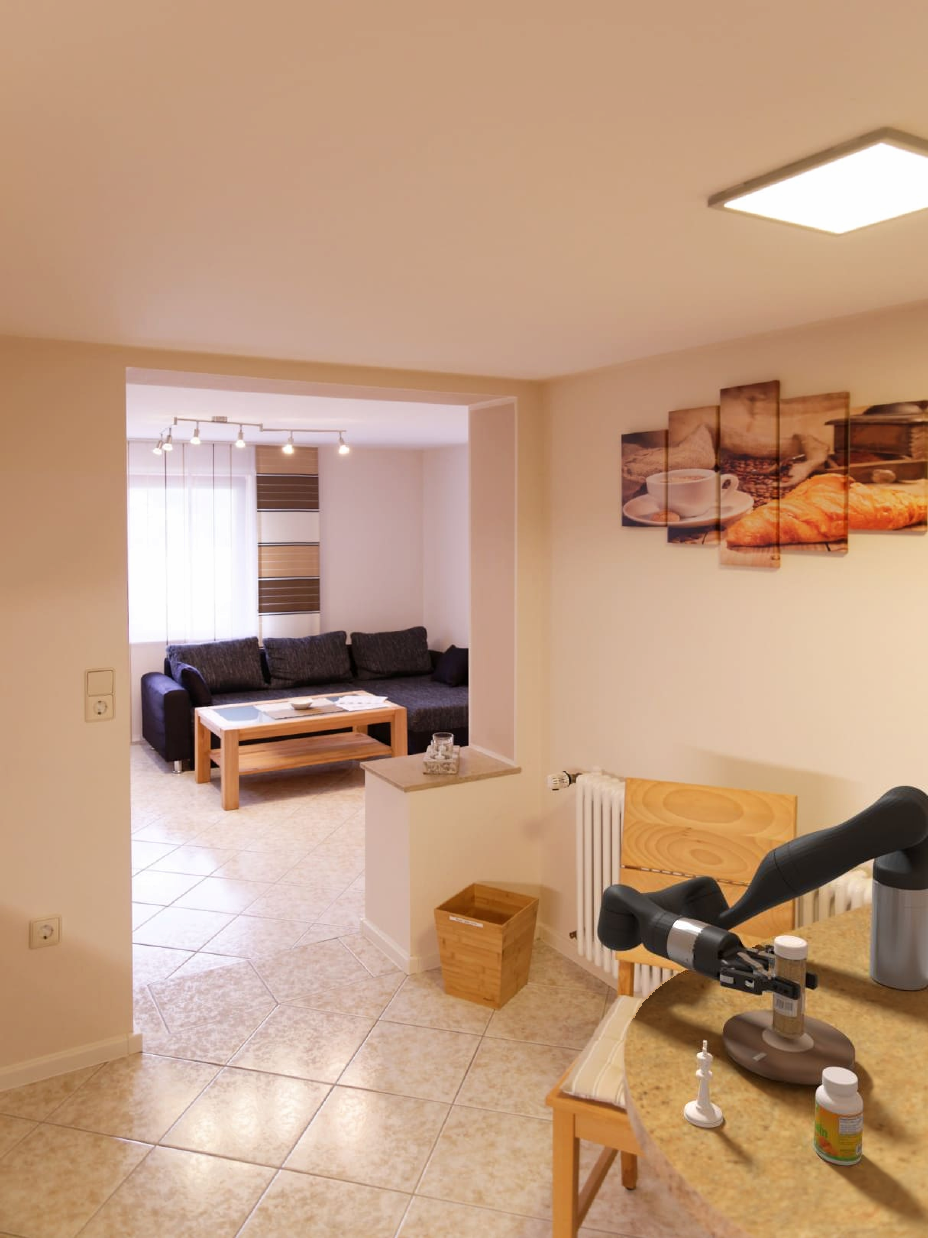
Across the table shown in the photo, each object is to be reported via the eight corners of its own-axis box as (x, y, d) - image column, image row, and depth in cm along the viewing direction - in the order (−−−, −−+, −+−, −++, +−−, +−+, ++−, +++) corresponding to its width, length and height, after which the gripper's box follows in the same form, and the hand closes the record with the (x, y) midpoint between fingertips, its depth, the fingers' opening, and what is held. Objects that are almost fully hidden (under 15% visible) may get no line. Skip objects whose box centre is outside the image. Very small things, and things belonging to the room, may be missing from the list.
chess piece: (724, 1110, 122) (726, 1035, 121) (721, 1131, 117) (723, 1054, 116) (685, 1102, 123) (687, 1029, 123) (681, 1123, 119) (683, 1047, 118)
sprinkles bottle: (811, 1034, 133) (814, 942, 132) (790, 1043, 131) (794, 949, 130) (784, 1021, 137) (787, 931, 136) (764, 1029, 134) (767, 938, 134)
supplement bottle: (805, 1140, 115) (808, 1064, 115) (847, 1138, 116) (850, 1062, 115) (826, 1168, 110) (829, 1088, 109) (870, 1166, 110) (872, 1087, 110)
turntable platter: (764, 1008, 147) (764, 997, 146) (877, 1053, 133) (878, 1041, 133) (697, 1046, 135) (698, 1035, 135) (815, 1100, 121) (815, 1088, 121)
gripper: (729, 959, 149) (831, 998, 136) (676, 986, 139) (780, 1030, 127) (730, 914, 148) (833, 948, 136) (677, 937, 139) (782, 976, 126)
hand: (807, 987), depth 131 cm, fingers closed on sprinkles bottle, 4 cm apart
